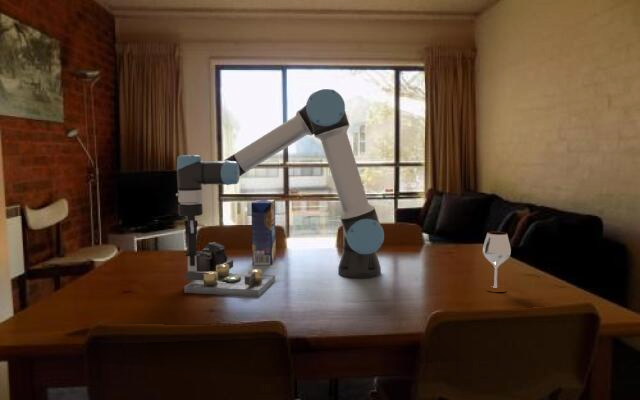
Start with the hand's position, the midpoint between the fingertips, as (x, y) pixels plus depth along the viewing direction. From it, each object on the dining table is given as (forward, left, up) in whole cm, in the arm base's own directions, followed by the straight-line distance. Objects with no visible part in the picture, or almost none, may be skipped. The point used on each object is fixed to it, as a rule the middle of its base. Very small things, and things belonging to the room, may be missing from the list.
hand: (192, 274), depth 157 cm
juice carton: (-13, -36, -4) cm, 39 cm away
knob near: (-5, +5, -1) cm, 7 cm away
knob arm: (-21, +2, -1) cm, 21 cm away
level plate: (-13, 0, -3) cm, 14 cm away
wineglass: (-96, -10, -4) cm, 97 cm away
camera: (+2, -21, -4) cm, 21 cm away
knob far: (-8, -8, -1) cm, 12 cm away
